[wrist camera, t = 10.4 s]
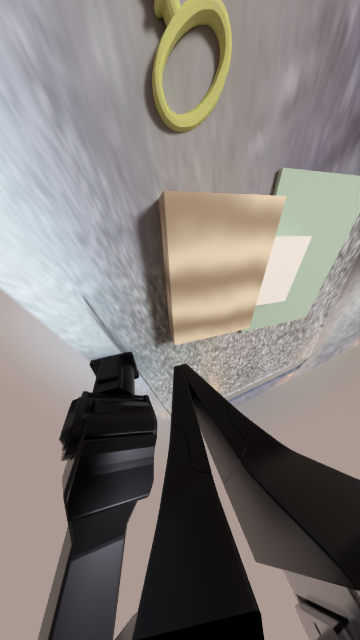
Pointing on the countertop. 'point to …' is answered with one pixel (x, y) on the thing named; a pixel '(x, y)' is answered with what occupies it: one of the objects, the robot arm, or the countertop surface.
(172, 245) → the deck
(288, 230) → the mat
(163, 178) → the countertop surface
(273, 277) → the white flat block
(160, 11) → the key
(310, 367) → the countertop surface
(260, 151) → the countertop surface
